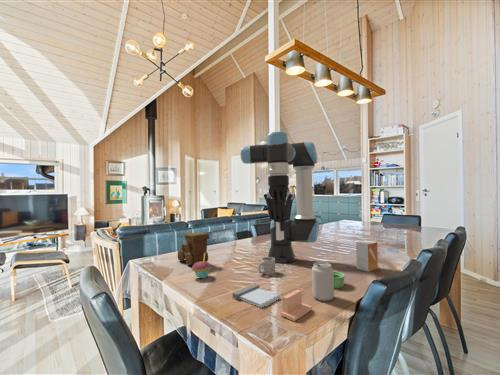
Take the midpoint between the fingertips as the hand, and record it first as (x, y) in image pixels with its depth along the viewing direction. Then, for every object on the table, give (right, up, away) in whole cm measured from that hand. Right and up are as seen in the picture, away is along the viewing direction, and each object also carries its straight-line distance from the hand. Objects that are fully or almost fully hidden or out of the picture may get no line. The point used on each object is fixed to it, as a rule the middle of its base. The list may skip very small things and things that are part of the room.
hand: (280, 239), depth 92 cm
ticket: (-8, -21, -1) cm, 23 cm away
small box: (+46, -21, +30) cm, 59 cm away
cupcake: (-33, -22, +23) cm, 46 cm away
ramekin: (+23, -21, +11) cm, 33 cm away
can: (+15, -21, -2) cm, 26 cm away
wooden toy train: (-43, -23, +48) cm, 68 cm away
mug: (-3, -22, +26) cm, 34 cm away
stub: (+4, -20, -13) cm, 24 cm away
